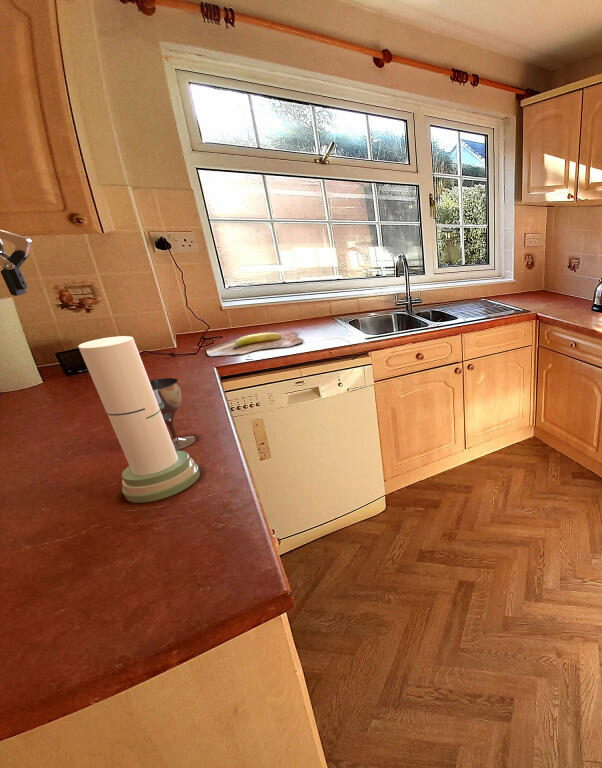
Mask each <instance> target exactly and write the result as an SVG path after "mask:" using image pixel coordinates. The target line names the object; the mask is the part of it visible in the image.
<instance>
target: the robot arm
mask: <svg viewBox="0 0 602 768" xmlns="http://www.w3.org/2000/svg"><path fill="white" fill-rule="evenodd" d="M3 241H5V242H9V243H12V244H14V251H13V252H12V253H11V255H10V254H8V253H6V252H5V245H4V243H3ZM31 247H32V240H31V239H30V238H29V237H27V236H23V235H20V234H17V233H13V232H10V231H6V230H4V229H0V267H1V268H2V269H1V270H0V274H1V276H2V278H3V281H4V283H5V285H6V287H7V289H8V292H9V293H10V295H11V296H13V297H16V296H22V295H24V294H27V291H26V290H27V289H28V285H27V283H26V280H25V278H24V275H23V273H22V271H21V269H20V268H22V265H23V264H24V262H25V261H26V260H27V259H28V258H29V256H30V250H31Z"/></svg>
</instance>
